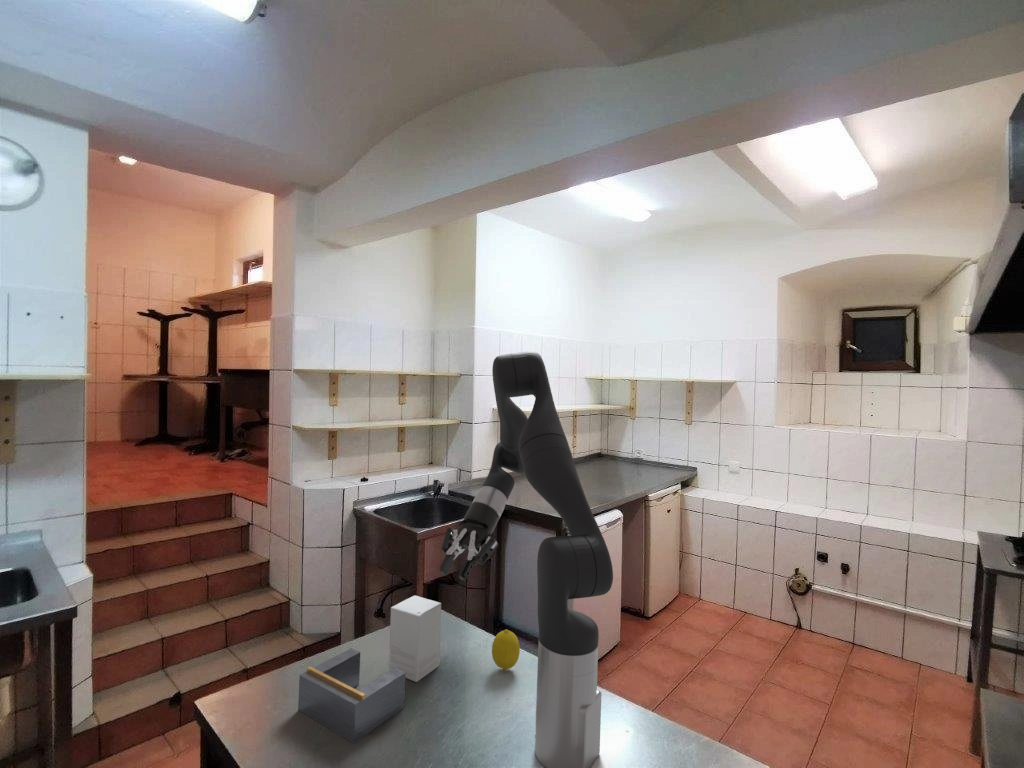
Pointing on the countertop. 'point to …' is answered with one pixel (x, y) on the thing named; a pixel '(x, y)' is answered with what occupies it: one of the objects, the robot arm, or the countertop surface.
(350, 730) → the cradle
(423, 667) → the supplement box
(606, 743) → the countertop surface
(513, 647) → the lemon
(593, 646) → the robot arm
